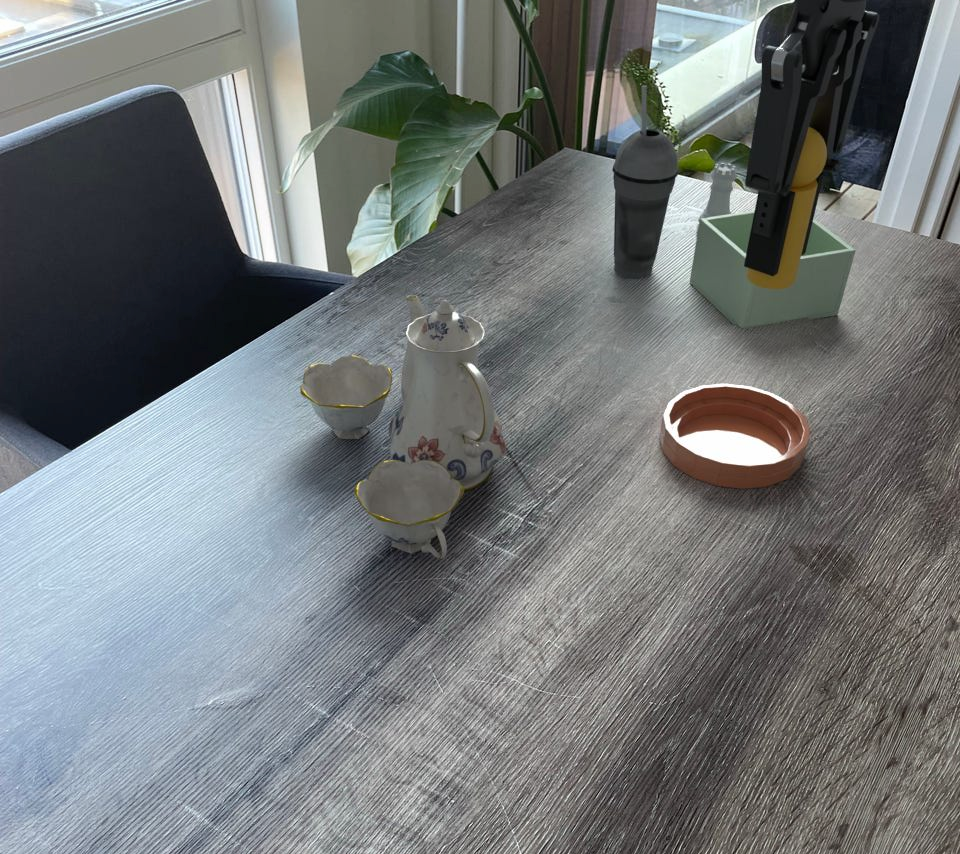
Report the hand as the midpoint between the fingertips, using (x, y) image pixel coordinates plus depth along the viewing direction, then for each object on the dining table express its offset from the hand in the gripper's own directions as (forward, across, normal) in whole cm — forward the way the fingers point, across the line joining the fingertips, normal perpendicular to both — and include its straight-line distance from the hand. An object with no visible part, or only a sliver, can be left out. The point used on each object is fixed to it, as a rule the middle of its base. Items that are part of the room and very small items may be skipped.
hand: (775, 259), depth 85 cm
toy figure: (+2, 0, 0) cm, 2 cm away
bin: (+18, -26, -12) cm, 34 cm away
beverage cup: (+18, -22, -27) cm, 40 cm away
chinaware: (+18, +24, -20) cm, 35 cm away
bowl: (+18, +2, 0) cm, 18 cm away
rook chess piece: (+18, -38, -25) cm, 49 cm away
